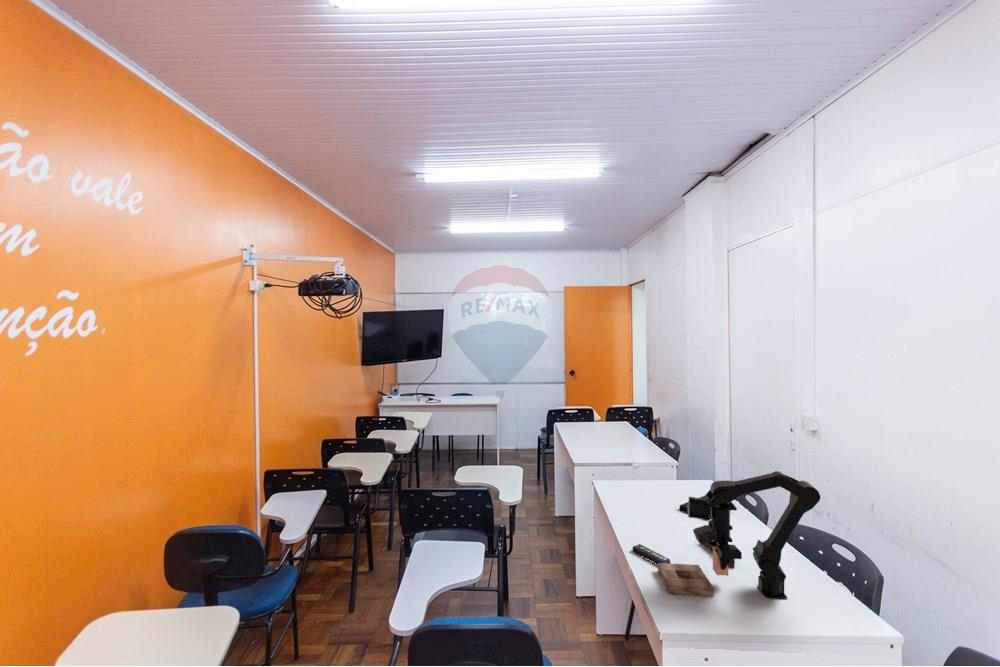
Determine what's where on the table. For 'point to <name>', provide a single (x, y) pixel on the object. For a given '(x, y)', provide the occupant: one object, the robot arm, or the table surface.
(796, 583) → the table surface
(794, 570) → the table surface
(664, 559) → the multiport hub
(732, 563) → the brown long rough piece
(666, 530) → the table surface
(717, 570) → the peg
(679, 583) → the socket block
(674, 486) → the table surface
